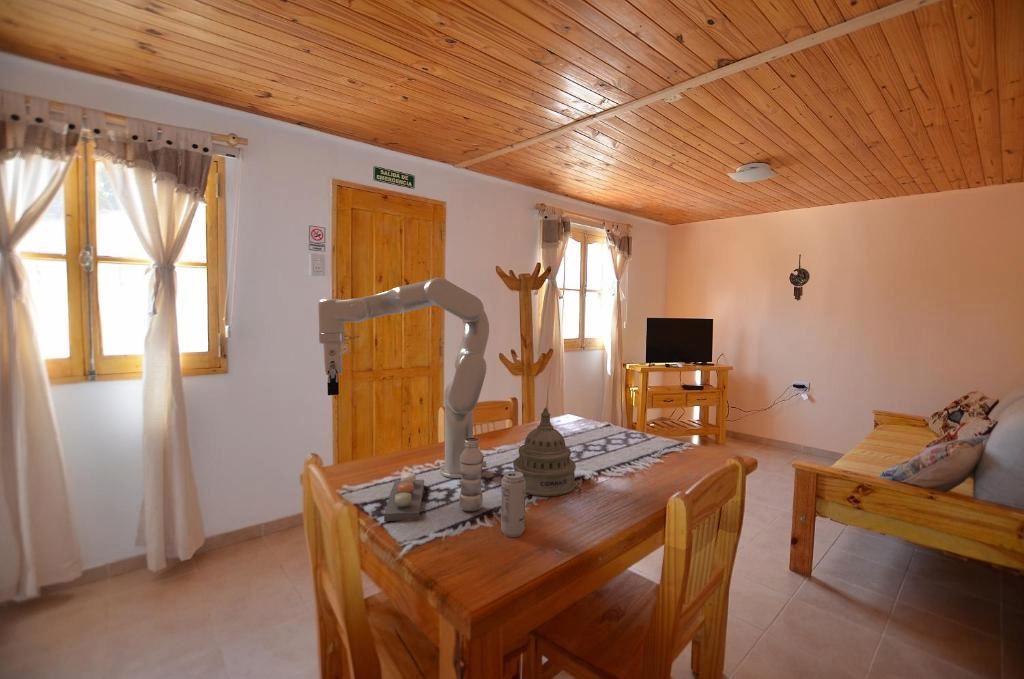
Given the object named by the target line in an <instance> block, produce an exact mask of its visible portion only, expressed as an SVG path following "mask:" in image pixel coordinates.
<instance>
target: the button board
mask: <svg viewBox="0 0 1024 679" xmlns="http://www.w3.org/2000/svg"><path fill="white" fill-rule="evenodd" d="M400 483H401V479H399V480H397V479H395V480H394V482H393V485H392V488H391V491H390V493H389V494H390V495H389V498H388V501H387V503H386V507H385V510H384V512H383V521H384V522H395V521H396V522H397V521H398V522H399V521H416V520H417V521H419V520H420V515H421V509H422V508H421V507H422V502H423V501H422V500H423V494H424V489H425V479H416V482H415V483H413V484H414V492H413V493H412V494H411V504H410V505H408V506H396V505H395V495H396V494H399V493H398V485H399V484H400Z"/></svg>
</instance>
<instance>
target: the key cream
mask: <svg viewBox="0 0 1024 679" xmlns="http://www.w3.org/2000/svg"><path fill="white" fill-rule="evenodd" d="M416 476H417V475H416V474H415V473H414V472H406V473H401V474H400V480H401V483H403V482H411V483H415V482H416V480H417V478H416Z"/></svg>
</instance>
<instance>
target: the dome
mask: <svg viewBox="0 0 1024 679" xmlns="http://www.w3.org/2000/svg"><path fill="white" fill-rule="evenodd" d="M540 417H541V418H540V423H539V424H538V425H537V426H536V428H534V429H532V430H531V431H529V433H527V435H526V437H525V439H524V444H522V445H521V446H519V448H518V455H519V456H518V457H516V458H515V459H514V460H513V463H512V464H513V468H514V470H513V471H518V472H521V473H523V477H524V479H525V494H527V495H532V496H537V497H559V496H563V495H566V494H569V493H571V492H573V490H575V489H576V481H575V476H576V475H575V472H576V466H577V465H576V463H575V461H574V460H573V459H572V458H571V454H572V451H571V449H570V447H569V446H567V445H566V441H565V438H564V436H563V435H562V434H561V432H559V430H557V429H556V428H555V426H554V425H552V422H551V413H550V412H549V411H548V408H547V407H544V408H543V411H542V412H541V413H540Z"/></svg>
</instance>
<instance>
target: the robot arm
mask: <svg viewBox="0 0 1024 679" xmlns="http://www.w3.org/2000/svg"><path fill="white" fill-rule="evenodd" d="M317 306H318V307H317V308H318V336H319V337H318V341H319V344H320V345H321V344H322V345H323V364H324V369H325V370H324V371H325V375H326V376H327V395H328V396H339V394H340V391H339V390H340V387H339V385H340V384H339V376H338V374H339V375H340V376H342V375H343V345H342V344H345V343H346V334H345V330H346V329H345V328H346V327H345V324H346V323H345V322H349V323H362V322H363V321H368V320H371V319H375V318H379V317H382V316H383V317H384V316H388V315H396V314H397V315H398V314H406V313H410V312H413V311H417V310H422V309H426V308H430V307H433V306H437V307H438V308H441V309H443V310H444V311H446V312H448V313H450V314H452V315H454V316H456V317H457V318H458V319H460V320H461V321H462V324H463V335H462V337H461V342H460V345H459V348H458V352H457V354H456V357H455V361H454V368H455V371H454V372H455V373H454V376H453V379H452V381H450V382H449V383H448V384H447V386H446V388H445V390H444V399H443V400H444V465H442V466H441V467H440V468H439V473H440V474H441V475H442V476H443V477H446V478H448V479H449V478H451V479H462V476H461V465H460V456H461V454H462V452H463V451H464V449H465V448H466V447H465V439H466V438H474V409H475V408H476V406H477V404H478V401H479V399H480V395H481V392H482V389H483V386H484V382H485V378H486V374H487V362H486V360H485V358H484V357H485V352H486V349H487V344H488V340H489V335H490V324H489V323H490V322H489V319H488V316H487V312H486V311H485V307H484V303H483V302H482V300H481V299H480V298H479V297H478V296H476V295H474V294H473V293H471V292H468V291H467V290H465V289H463V287H462V288H461V287H459V286H457V284H454V283H452V282H451V281H449V280H448V279H446V278H443V277H434V278H432V279H428V280H424V281H419V282H414V283H409V284H406V285H400V286H397V287H394V288H392V289H390V290H387V291H384V292H381V293H377V294H374V295H373V294H372V295H368V296H363V297H358V298H349V299H340V298H322V299H320V300H319V302H318V305H317ZM482 468H487V461H485V460H483V466H482Z"/></svg>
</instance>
